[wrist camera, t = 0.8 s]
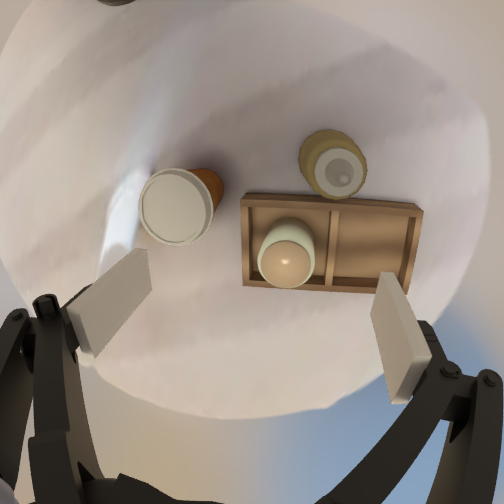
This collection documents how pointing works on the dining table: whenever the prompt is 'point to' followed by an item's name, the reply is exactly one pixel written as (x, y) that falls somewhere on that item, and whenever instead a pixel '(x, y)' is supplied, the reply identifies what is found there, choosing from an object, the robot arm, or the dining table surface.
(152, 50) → the dining table surface
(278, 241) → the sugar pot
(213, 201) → the disposable coffee cup
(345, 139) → the squeeze bottle
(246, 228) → the caddy
